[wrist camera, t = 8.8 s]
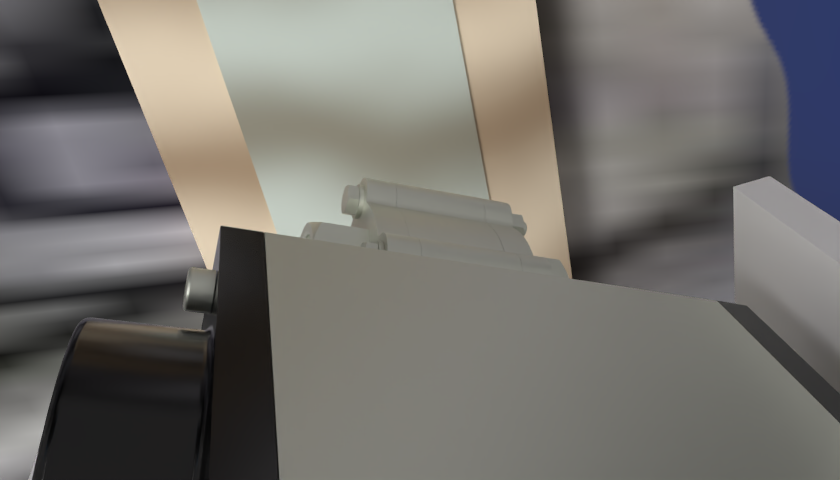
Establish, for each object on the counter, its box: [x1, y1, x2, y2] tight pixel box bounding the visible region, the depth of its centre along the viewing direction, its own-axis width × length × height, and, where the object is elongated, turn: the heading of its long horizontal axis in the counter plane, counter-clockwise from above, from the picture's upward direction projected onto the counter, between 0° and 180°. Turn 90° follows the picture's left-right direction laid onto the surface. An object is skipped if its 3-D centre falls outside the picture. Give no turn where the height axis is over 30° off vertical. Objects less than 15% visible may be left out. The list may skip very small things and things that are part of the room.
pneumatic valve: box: [32, 177, 840, 480], centre depth 12 cm, size 6×12×12 cm, turn 74°
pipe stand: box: [98, 0, 572, 279], centre depth 22 cm, size 30×12×8 cm, turn 12°
